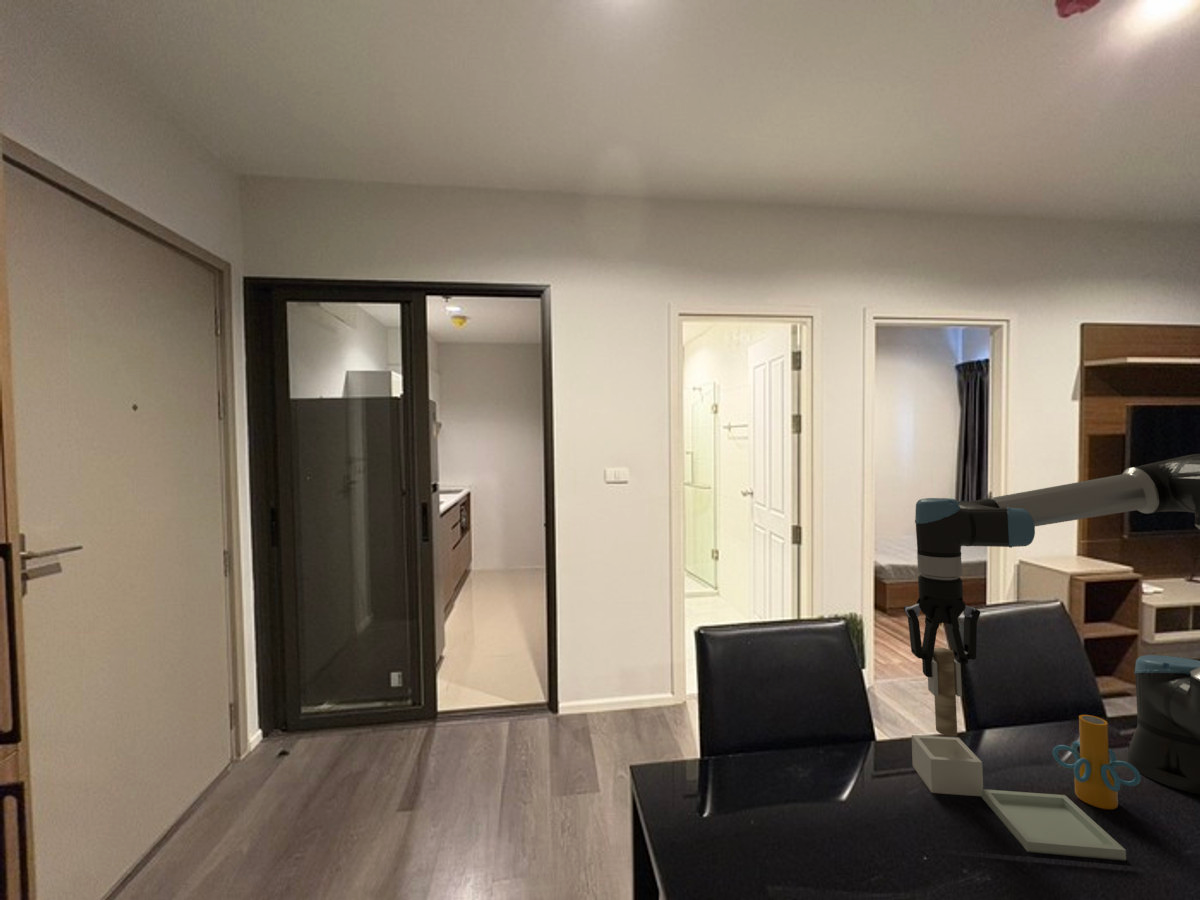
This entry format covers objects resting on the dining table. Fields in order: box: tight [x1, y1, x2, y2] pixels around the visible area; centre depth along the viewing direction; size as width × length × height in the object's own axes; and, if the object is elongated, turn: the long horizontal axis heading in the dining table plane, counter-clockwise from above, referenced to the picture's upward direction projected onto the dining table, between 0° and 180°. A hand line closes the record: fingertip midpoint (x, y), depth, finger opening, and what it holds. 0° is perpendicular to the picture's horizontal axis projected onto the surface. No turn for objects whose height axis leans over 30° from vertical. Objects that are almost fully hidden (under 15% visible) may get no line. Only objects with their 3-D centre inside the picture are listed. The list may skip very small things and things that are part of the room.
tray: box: [981, 788, 1127, 862], centre depth 93 cm, size 14×14×2 cm
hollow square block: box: [911, 734, 984, 797], centre depth 107 cm, size 9×9×7 cm
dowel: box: [933, 647, 958, 737], centre depth 107 cm, size 4×4×16 cm
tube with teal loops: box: [1052, 714, 1142, 810], centre depth 101 cm, size 12×10×15 cm
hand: (944, 692), depth 107 cm, fingers closed on dowel, 3 cm apart
